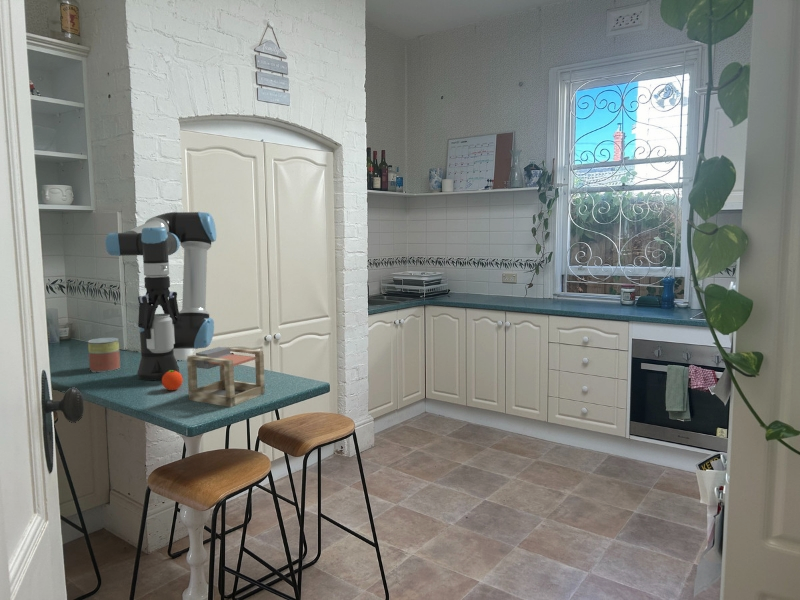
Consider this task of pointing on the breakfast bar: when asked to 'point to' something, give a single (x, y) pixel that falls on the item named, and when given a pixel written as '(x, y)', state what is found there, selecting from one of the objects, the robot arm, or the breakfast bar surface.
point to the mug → (183, 353)
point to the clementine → (172, 380)
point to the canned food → (104, 354)
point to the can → (162, 333)
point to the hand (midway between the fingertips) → (161, 345)
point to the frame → (226, 381)
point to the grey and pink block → (221, 357)
